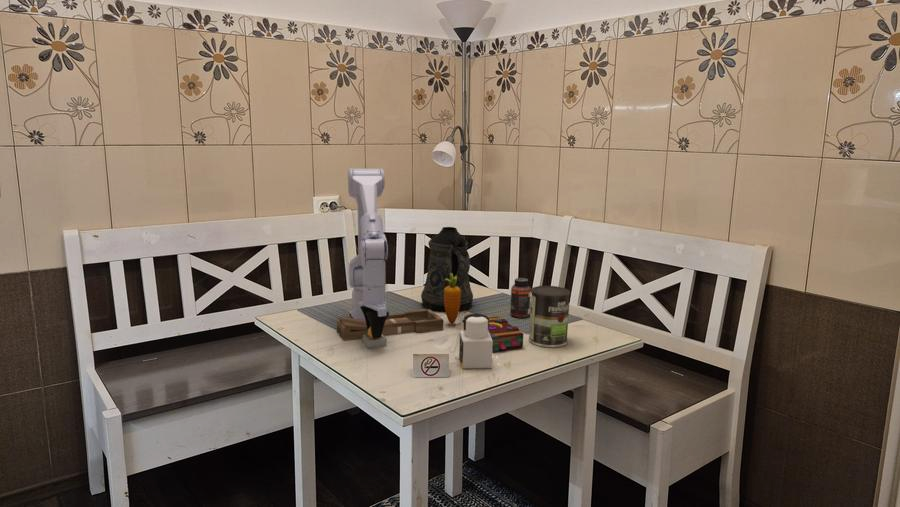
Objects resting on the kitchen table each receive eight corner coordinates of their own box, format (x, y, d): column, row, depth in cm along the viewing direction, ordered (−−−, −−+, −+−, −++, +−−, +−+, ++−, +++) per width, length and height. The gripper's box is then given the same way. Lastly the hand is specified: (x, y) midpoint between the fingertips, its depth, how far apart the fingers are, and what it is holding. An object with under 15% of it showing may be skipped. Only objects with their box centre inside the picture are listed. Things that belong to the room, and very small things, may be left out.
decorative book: (498, 330, 171) (499, 313, 170) (526, 350, 157) (527, 332, 156) (461, 335, 167) (461, 317, 166) (486, 356, 153) (486, 337, 151)
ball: (366, 336, 159) (366, 324, 158) (379, 335, 161) (379, 322, 160) (369, 341, 156) (369, 328, 155) (383, 339, 157) (382, 326, 157)
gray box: (362, 341, 160) (362, 334, 159) (381, 339, 162) (381, 332, 161) (367, 348, 155) (367, 341, 155) (386, 345, 157) (386, 338, 157)
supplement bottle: (533, 316, 184) (535, 280, 181) (519, 319, 180) (520, 282, 178) (520, 311, 189) (522, 276, 186) (506, 314, 185) (507, 278, 183)
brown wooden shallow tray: (335, 329, 169) (335, 315, 168) (429, 318, 180) (429, 305, 179) (344, 342, 159) (344, 327, 158) (443, 329, 170) (443, 316, 169)
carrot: (458, 328, 172) (459, 276, 169) (441, 326, 173) (442, 275, 170) (461, 322, 177) (463, 272, 173) (445, 321, 178) (446, 271, 174)
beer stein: (441, 295, 205) (442, 221, 199) (490, 305, 194) (493, 228, 188) (410, 306, 192) (410, 228, 186) (460, 318, 181) (463, 235, 175)
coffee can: (575, 344, 161) (578, 293, 158) (543, 350, 156) (546, 297, 154) (551, 332, 170) (554, 283, 167) (521, 337, 165) (523, 287, 162)
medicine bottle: (459, 357, 150) (460, 311, 148) (487, 357, 151) (489, 311, 148) (461, 369, 143) (463, 320, 141) (491, 368, 144) (493, 320, 142)
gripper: (351, 278, 160) (352, 328, 163) (366, 293, 147) (367, 346, 150) (377, 276, 163) (377, 325, 166) (394, 290, 150) (394, 342, 153)
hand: (374, 334), depth 158 cm, fingers closed on ball, 3 cm apart
